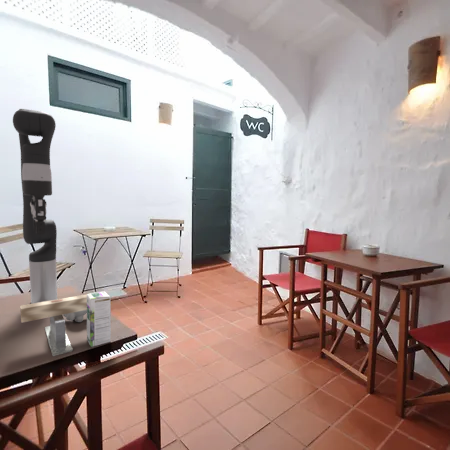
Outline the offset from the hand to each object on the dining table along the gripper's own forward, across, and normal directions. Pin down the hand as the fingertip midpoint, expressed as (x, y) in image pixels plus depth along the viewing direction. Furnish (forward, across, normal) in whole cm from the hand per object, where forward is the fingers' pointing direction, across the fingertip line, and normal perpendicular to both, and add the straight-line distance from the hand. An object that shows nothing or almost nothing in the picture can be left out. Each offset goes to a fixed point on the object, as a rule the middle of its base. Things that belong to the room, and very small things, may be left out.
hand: (39, 232), depth 91 cm
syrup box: (+32, -16, -13) cm, 38 cm away
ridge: (+32, -8, -3) cm, 33 cm away
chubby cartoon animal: (+32, +3, -13) cm, 35 cm away
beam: (+24, -8, -3) cm, 26 cm away
